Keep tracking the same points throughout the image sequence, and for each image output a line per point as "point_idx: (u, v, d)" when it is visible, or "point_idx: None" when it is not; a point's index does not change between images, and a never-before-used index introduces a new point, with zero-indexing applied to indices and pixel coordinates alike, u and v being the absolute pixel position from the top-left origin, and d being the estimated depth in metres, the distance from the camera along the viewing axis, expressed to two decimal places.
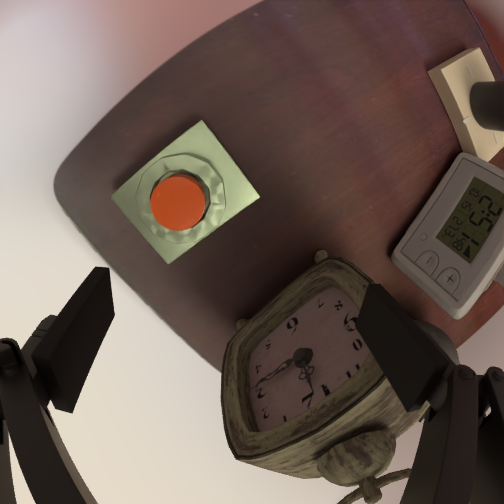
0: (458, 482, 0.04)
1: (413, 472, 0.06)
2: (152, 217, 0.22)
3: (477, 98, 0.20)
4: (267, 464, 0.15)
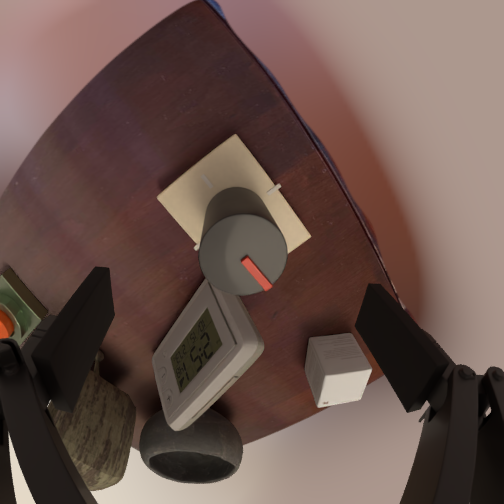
0: (458, 482, 0.04)
1: (413, 472, 0.06)
2: None
3: None
4: None
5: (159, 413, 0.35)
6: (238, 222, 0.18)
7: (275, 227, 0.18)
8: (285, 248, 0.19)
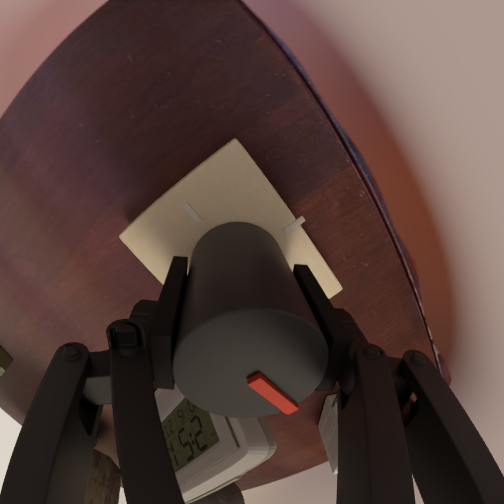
0: (394, 477, 0.05)
1: (340, 466, 0.07)
2: None
3: None
4: None
5: None
6: (243, 324, 0.09)
7: (312, 328, 0.09)
8: (326, 357, 0.10)
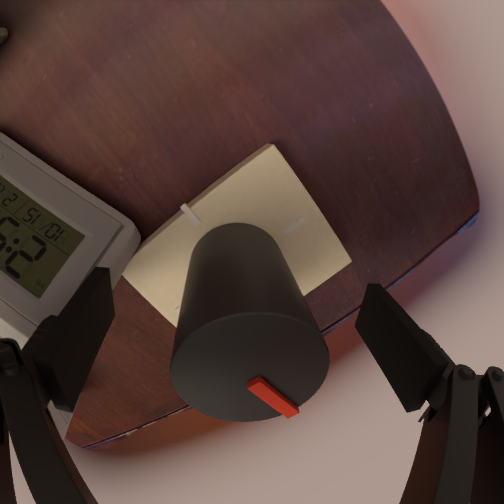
0: (458, 482, 0.04)
1: (412, 472, 0.06)
2: None
3: None
4: None
5: None
6: (242, 328, 0.09)
7: (313, 332, 0.09)
8: (326, 360, 0.10)
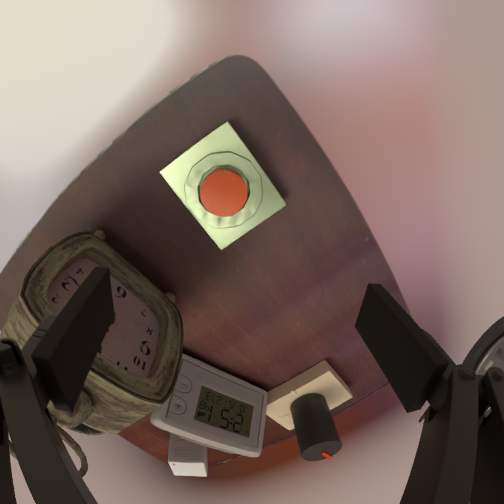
0: (458, 482, 0.04)
1: (413, 472, 0.06)
2: (209, 166, 0.25)
3: (291, 412, 0.39)
4: (24, 324, 0.14)
5: None
6: (323, 444, 0.31)
7: (338, 442, 0.31)
8: (341, 446, 0.32)
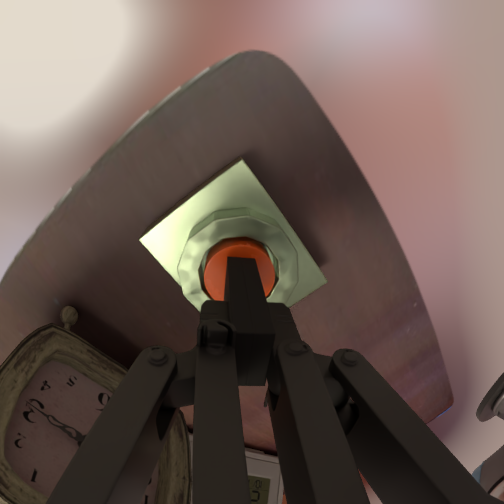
0: (340, 483, 0.05)
1: (283, 471, 0.07)
2: (215, 238, 0.16)
3: None
4: None
5: None
6: None
7: None
8: None
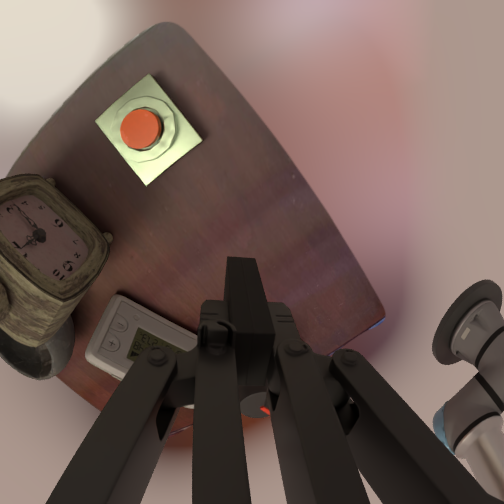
0: (341, 483, 0.05)
1: (283, 471, 0.07)
2: (130, 109, 0.26)
3: None
4: None
5: None
6: (259, 395, 0.32)
7: None
8: None
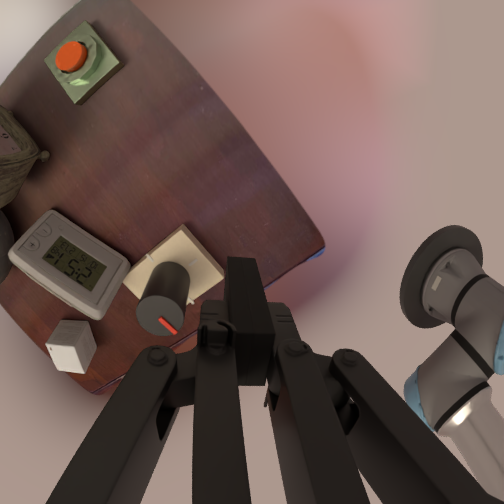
0: (341, 483, 0.05)
1: (283, 471, 0.07)
2: None
3: None
4: None
5: (3, 216, 0.32)
6: (154, 299, 0.31)
7: (174, 302, 0.31)
8: (181, 313, 0.32)
